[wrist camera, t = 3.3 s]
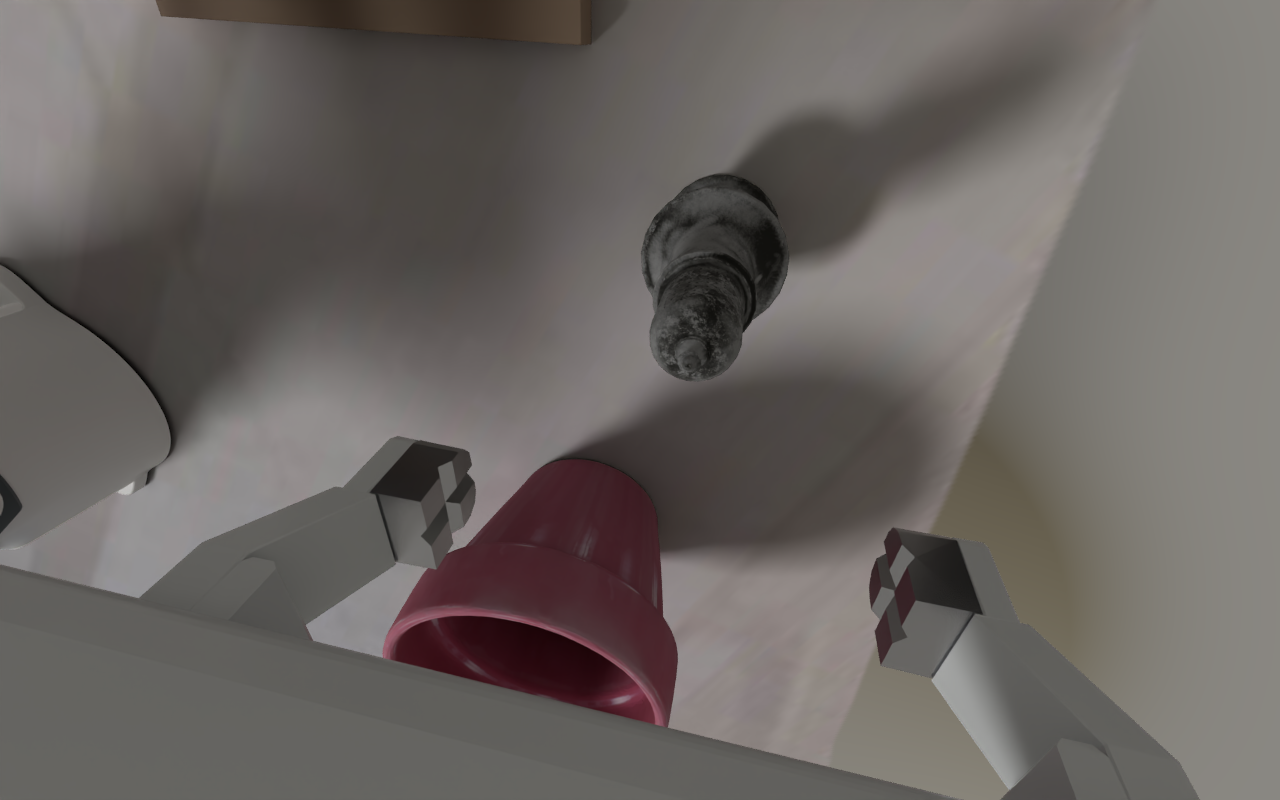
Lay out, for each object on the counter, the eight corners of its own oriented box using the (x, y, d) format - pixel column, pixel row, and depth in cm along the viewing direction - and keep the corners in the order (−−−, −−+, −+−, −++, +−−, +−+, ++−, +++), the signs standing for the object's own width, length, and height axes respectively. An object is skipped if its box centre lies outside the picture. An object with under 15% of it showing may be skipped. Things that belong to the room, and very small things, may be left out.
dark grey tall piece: (631, 246, 26) (548, 376, 16) (710, 136, 23) (665, 216, 13) (727, 320, 27) (704, 483, 17) (815, 225, 24) (848, 360, 14)
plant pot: (626, 609, 42) (579, 803, 31) (460, 517, 39) (349, 693, 29) (743, 504, 34) (731, 718, 23) (542, 382, 31) (430, 557, 21)
